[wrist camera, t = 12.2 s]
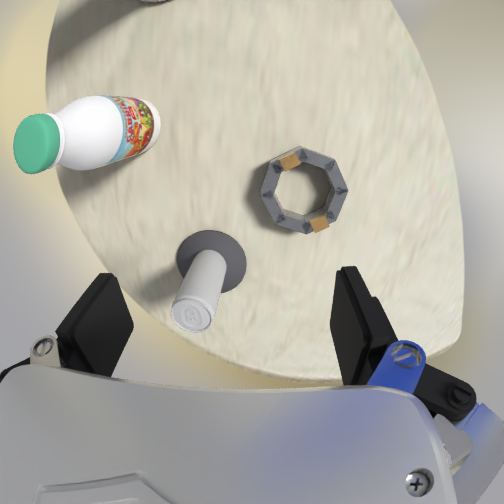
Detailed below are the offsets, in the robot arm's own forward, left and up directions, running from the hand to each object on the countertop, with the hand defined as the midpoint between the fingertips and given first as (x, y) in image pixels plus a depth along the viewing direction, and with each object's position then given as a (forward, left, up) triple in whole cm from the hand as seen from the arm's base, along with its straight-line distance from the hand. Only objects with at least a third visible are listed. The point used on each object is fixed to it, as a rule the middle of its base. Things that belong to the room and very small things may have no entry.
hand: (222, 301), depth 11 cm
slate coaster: (+8, -11, -26) cm, 29 cm away
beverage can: (+8, -11, -26) cm, 29 cm away
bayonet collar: (+4, +5, -26) cm, 27 cm away
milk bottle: (-14, -10, -26) cm, 31 cm away
